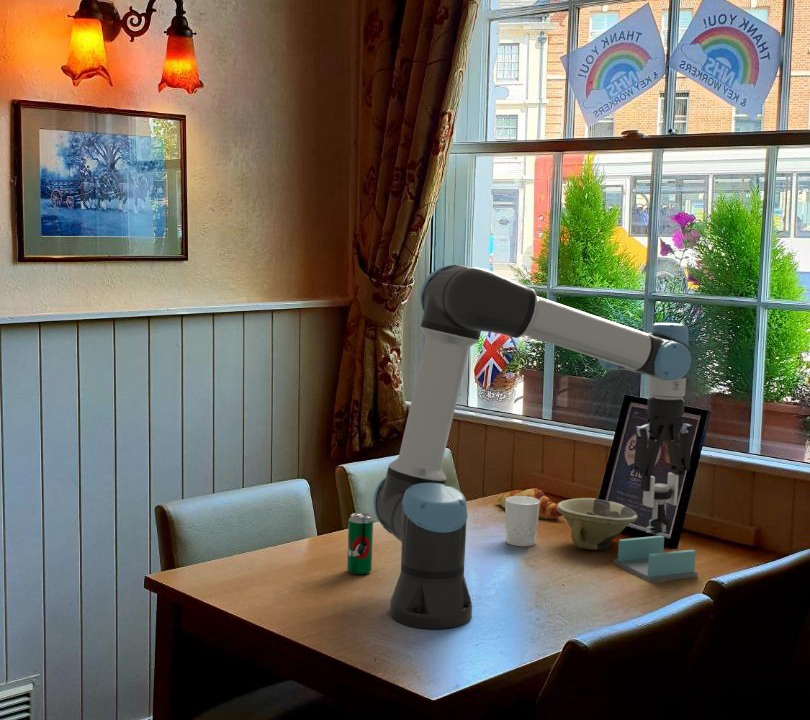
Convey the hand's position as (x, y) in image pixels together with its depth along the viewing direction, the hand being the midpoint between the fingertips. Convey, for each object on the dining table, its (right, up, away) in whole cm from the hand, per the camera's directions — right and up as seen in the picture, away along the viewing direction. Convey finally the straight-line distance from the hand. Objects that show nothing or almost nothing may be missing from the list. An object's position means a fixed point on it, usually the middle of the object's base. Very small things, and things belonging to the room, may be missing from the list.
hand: (659, 504), depth 225 cm
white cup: (-27, -12, +19) cm, 35 cm away
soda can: (-64, -13, -6) cm, 65 cm away
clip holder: (-1, -14, +2) cm, 14 cm away
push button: (-1, -6, +1) cm, 6 cm away
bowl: (-11, -12, +17) cm, 24 cm away
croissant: (-22, -9, +46) cm, 52 cm away
